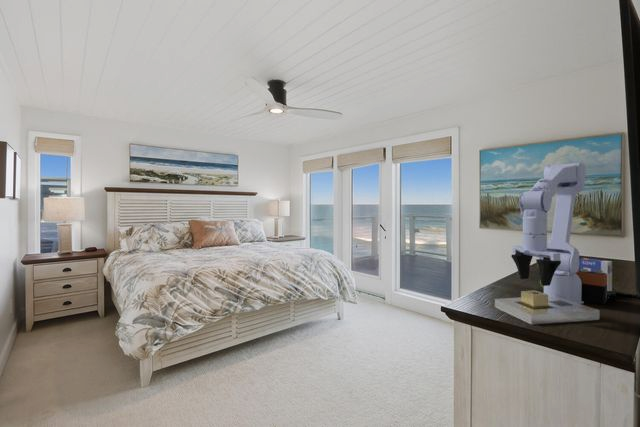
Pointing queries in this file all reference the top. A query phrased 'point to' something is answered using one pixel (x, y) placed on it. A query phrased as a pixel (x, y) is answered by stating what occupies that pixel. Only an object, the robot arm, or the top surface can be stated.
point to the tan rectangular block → (534, 299)
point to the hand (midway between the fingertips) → (534, 281)
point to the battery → (593, 286)
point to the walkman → (598, 268)
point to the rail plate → (548, 311)
